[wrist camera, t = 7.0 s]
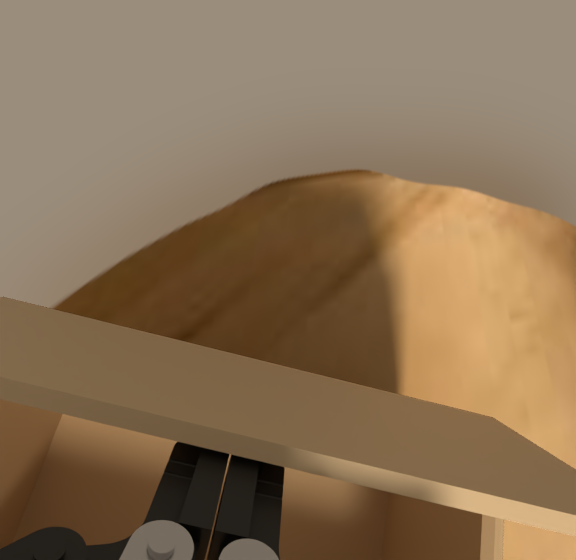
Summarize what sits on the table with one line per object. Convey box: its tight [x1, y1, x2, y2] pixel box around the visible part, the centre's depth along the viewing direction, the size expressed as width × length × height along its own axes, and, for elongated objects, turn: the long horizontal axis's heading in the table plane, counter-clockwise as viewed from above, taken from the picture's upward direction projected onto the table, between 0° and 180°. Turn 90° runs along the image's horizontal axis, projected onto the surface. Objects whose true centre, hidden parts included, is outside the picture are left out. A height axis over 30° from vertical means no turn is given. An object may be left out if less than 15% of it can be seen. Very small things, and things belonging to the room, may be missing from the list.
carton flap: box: [0, 297, 576, 537], centre depth 17 cm, size 23×11×1 cm
